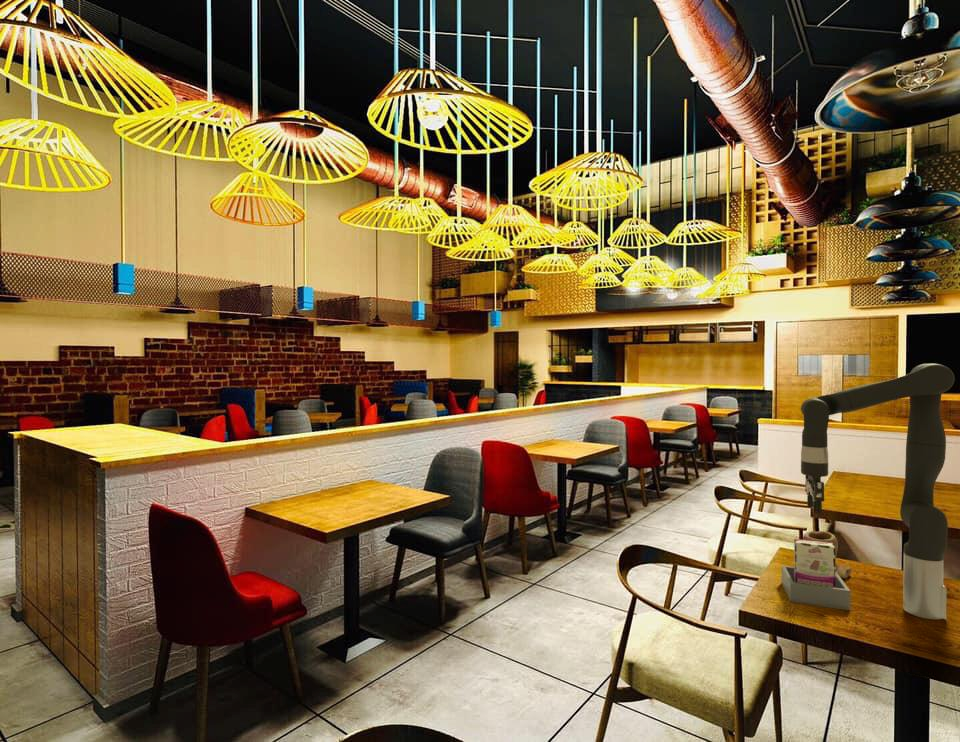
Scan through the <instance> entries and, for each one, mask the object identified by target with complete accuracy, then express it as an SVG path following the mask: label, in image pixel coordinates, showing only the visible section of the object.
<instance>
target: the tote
mask: <svg viewBox="0 0 960 742" xmlns="http://www.w3.org/2000/svg"><path fill="white" fill-rule="evenodd" d="M835 581H836V583H835V584H836V588H833V587H825V586H817V585H809V584H802V583H795V581H794V566H789V565H781V585H782V587H783V589H784V591H785V594H786V596H787V598H788V601H789V602H790V603H793V604H795V603H796V604H801V605H809V606H816V607H823V608H828V609H836V610H837V609H838V610H844V611H851V590H850V587H849V586H847V585H846V583H845V582H844V580H843V578H840V576H839V575H838V574H837V572H835Z"/></svg>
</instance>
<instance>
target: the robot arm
mask: <svg viewBox="0 0 960 742" xmlns="http://www.w3.org/2000/svg"><path fill="white" fill-rule="evenodd" d="M954 384H955V374H954V372H953V371H952V370H951V369H950V368H949V367H947V366H945V365H943V364H941V363H940V364H939V363H922V364H919V365H916V366H915V367H913V368H912V369H911V371H910V372H909V373H907V374H905V375H902V376H898V377H896V378H892V379H887V380H883V381H879V382H874V383H868V384H863V385H858V386H854V387H851V388H847V389H843V390H840V391H837V392H834V393H830V394H824V395H818V396H814V397H811V398H808V399H806V400H804V401H803V402H802V403H801V406H800V411H801V414H802V415H803V429H802V434H801V448H800V449H801V450H800V474H802V475H804V476H805V487H804V488H805V489H804V491H805V494H806V496H807V497H806V498H807V499H806V500H807V501H806V502H807V504H806V505H807V507H808V508H812V512H813V514H816V515H822V513H823V509H822V508H823V506H822V505H823V502H825V483H824V481H822V477H828V476H829V451H828V427H829V421H830V416H832V415H836V414H844V413H845V414H846V413H851V412H855V411H859V410H863V409H867V408H870V407H874V406H878V405H881V404H885V403H889V402H892V401H896V400H900V399H905V398H909V415H908V421H907V432H906V433H907V434H906V442H905V466H904V467H905V469H904V470H905V473H904V477H905V478H904V488H903V494H902V497H901V502H900V503H901V504H900V508H899V509H900V510H899V515H900V518H901V521H902V523H903V524H904V525H905V526H907V527H908V528H909V532H908V533H909V534H908V541H907V542H905V543H904V545H903V577H902V578H903V582H902V583H903V586H902V587H903V589H902V590H903V591H902V592H903V595H902V596H903V598H902V604H903V605H902V606H903V607H902V608H903V610H904V611H905V612H906V613H908V614H910V615H912V616H916V617H918V618H922V619H926V620H947V587H946V585H944V556H945V553H946V551H947V548H948V547H947V546H948V533H949V532H948V531H949V524H948V523H949V522H948V518H947V515H946V514H945V513H944V511H943V510H941V508H938V507H936V506H935V504H934V502H935V501H934V494H935V493H934V491H935V490H934V489H935V484H936V481H937V480H938V477H939V476H940V474H941V472H942V470H943V468H944V464H945V460H946V450H947V438H946V437H947V436H946V430H945V428H944V423H943V418H942V416H941V400H942V395H943V393H945V392H947V391H949V390H950V389H951V388H952V387H953V385H954Z"/></svg>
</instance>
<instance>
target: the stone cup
mask: <svg viewBox="0 0 960 742" xmlns="http://www.w3.org/2000/svg"><path fill="white" fill-rule="evenodd" d="M802 540H809V541H818V542H827V543H833V545H834V546H835V572H837V574H838V575H839V576H840V578H841V579H848V577H850V574H851V573H852V570H853V569H852V567H851V566H846V565H840V564H837V562H836V560H837V555H838V550H839V544H838V539H837V537H836V536H835V535H834V534H833V533H831V532H829V531H825V530H823V531H822V530H820V531H815V530H811V531H808V532H806V533H804V535H803V536H802Z"/></svg>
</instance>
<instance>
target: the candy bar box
mask: <svg viewBox="0 0 960 742" xmlns="http://www.w3.org/2000/svg"><path fill="white" fill-rule="evenodd" d="M793 545H794V547H793V549H794V550H793V551H794V553H793V554H794V557H793V558H794V560H793V561H794V563H793V564H794V566H793V567H794V581H795V583H802V584H809V585H817V586H825V587H833V588H836V584H835V583H836V581H835V546H834V545H833V543H827V542H818V541H809V540H803V539H799V538H794V539H793Z"/></svg>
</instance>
